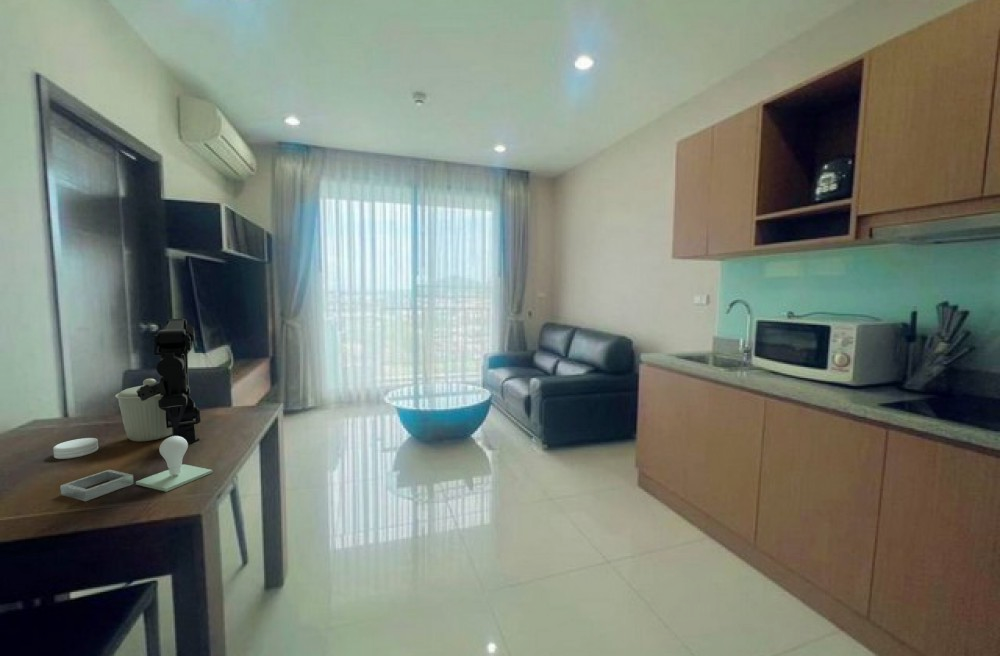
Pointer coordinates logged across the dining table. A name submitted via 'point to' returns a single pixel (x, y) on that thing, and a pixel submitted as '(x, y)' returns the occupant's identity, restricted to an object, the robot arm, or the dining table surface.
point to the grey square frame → (78, 486)
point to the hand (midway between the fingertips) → (176, 423)
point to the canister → (142, 415)
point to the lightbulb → (173, 453)
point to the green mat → (174, 478)
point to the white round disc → (75, 448)
